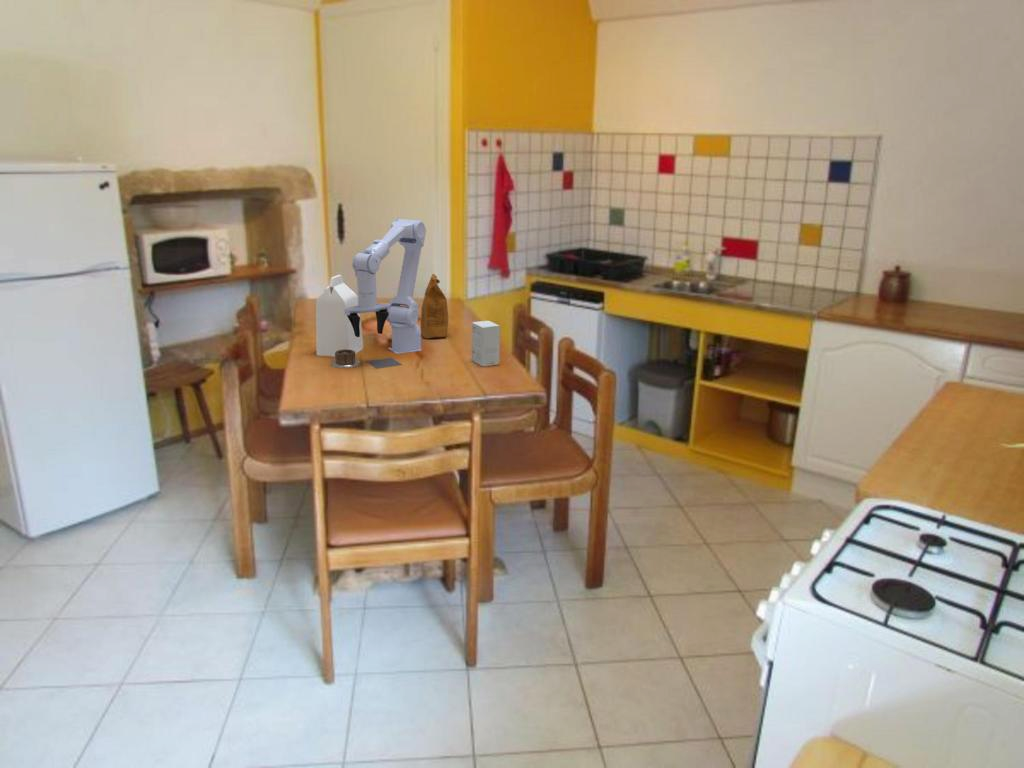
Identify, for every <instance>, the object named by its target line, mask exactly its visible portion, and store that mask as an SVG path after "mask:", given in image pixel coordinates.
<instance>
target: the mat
mask: <svg viewBox="0 0 1024 768" xmlns="http://www.w3.org/2000/svg"><path fill="white" fill-rule="evenodd" d="M365 362H366V363H367V364H368V365H370V366H372V367H373V368H374V369H377V370H378V369H382V368H383V369H384V368H390V367H391V368H392V367H396V366H398V367H399V366H403V363H401V362H399V361H397V360H396V359H395V358H393V357H387V358H380V359H373V360H367V361H365Z"/></svg>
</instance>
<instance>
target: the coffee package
mask: <svg viewBox="0 0 1024 768" xmlns="http://www.w3.org/2000/svg"><path fill="white" fill-rule="evenodd" d="M440 282H441V281H440V280H439V278H438V276H437V275H436V274H435V273H433V274H431V276H430V279H429V282H428V284H427V286H426V289H425V292H424V297H423V301H422V303H421V304H422V305H421V309H420V310H421V313H420V330H421V331H422V333H421V337H423V338H424V339H434V338H444V337H448V328H449V327H448V326H449V310H448V302H447V297H446V295H445V294H444V293H443V291H442V289H441V288H440V287H439V285H438V284H440Z"/></svg>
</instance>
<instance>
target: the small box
mask: <svg viewBox="0 0 1024 768" xmlns="http://www.w3.org/2000/svg"><path fill="white" fill-rule="evenodd" d="M500 333H501V325H499V324H496V323H495V322H493V321H491V320H481V321H472V322H471V361H472V362H474V363H476V364H477V365H479V366H481V367H490V366H496V365H497V366H498V365H500V360H501V358H500V356H501V355H500V354H501V353H500V347H501V345H500V341H501V340H500V339H501V335H500Z"/></svg>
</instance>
